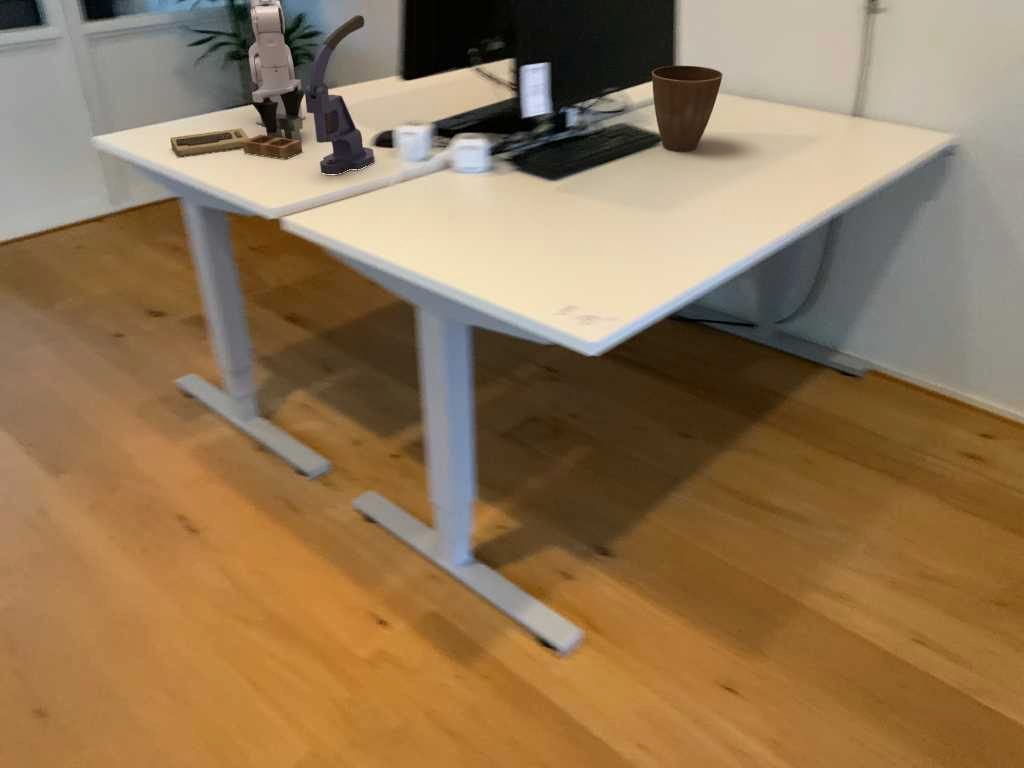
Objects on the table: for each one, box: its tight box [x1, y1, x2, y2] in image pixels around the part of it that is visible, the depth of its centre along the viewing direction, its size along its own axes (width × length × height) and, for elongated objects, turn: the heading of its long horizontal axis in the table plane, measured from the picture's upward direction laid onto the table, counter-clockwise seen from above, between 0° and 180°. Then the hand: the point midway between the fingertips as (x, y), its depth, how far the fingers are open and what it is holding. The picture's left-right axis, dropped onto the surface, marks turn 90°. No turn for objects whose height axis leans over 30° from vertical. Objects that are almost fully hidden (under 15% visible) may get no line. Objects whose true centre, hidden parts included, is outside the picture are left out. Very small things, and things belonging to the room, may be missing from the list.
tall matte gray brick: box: [260, 114, 304, 142], centre depth 193 cm, size 3×9×6 cm, turn 65°
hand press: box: [304, 14, 375, 174], centre depth 172 cm, size 19×9×28 cm, turn 155°
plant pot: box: [651, 65, 724, 152], centre depth 187 cm, size 15×15×16 cm
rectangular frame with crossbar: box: [243, 134, 303, 160], centre depth 185 cm, size 6×11×2 cm, turn 65°
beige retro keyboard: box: [170, 128, 250, 158], centre depth 188 cm, size 16×8×3 cm, turn 119°
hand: (282, 128), depth 192 cm, fingers open, 7 cm apart
